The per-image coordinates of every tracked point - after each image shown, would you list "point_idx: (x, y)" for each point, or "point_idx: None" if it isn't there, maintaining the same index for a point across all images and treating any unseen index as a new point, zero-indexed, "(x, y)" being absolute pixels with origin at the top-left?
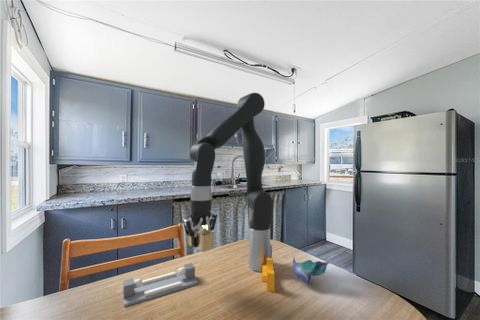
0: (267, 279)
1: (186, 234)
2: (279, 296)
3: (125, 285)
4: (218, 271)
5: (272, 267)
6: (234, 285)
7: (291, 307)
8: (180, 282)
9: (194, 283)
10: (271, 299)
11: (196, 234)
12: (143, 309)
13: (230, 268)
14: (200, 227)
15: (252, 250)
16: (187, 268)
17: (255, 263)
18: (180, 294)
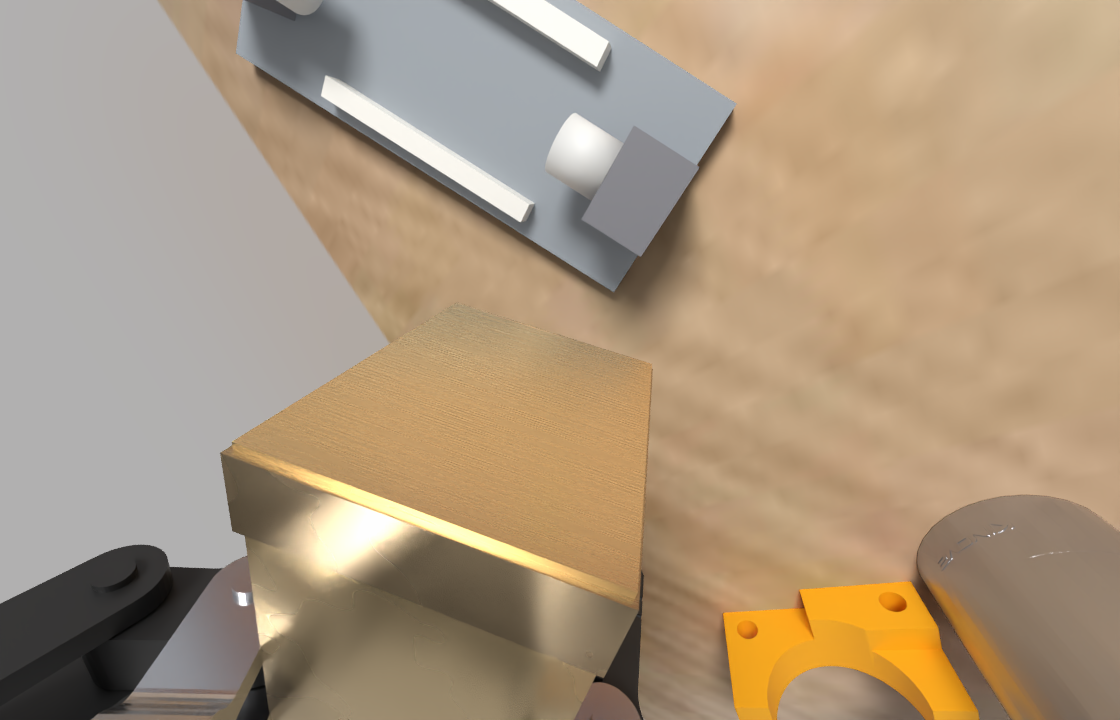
0: (730, 671)
1: (101, 565)
2: (703, 652)
3: None
4: (829, 329)
5: (896, 687)
6: (701, 480)
7: (655, 681)
8: (520, 218)
9: (596, 278)
10: (669, 629)
11: (263, 689)
12: (315, 175)
13: (909, 391)
14: (582, 686)
15: (1041, 672)
16: (593, 210)
17: (951, 591)
18: (490, 260)
